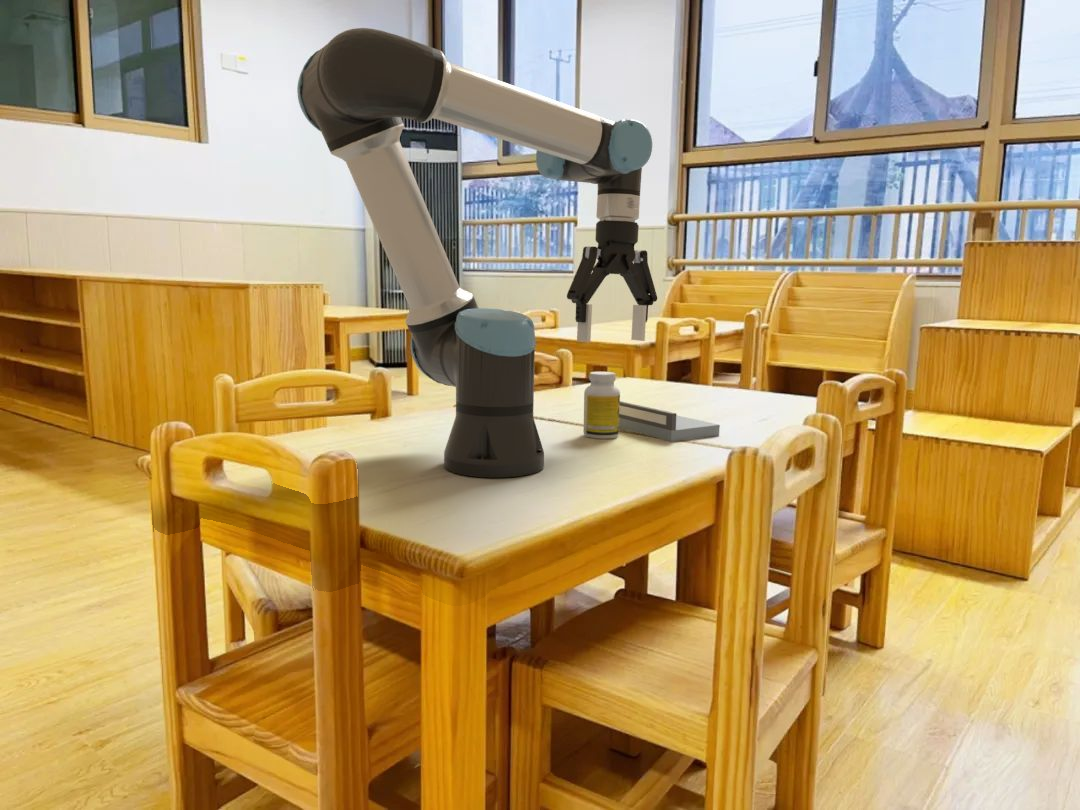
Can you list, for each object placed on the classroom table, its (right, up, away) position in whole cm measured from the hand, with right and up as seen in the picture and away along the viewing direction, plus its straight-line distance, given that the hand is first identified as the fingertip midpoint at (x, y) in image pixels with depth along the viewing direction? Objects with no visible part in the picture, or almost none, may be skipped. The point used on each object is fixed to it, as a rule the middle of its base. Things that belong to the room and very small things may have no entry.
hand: (611, 341), depth 146 cm
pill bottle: (-2, -17, +1) cm, 18 cm away
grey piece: (+11, -17, +7) cm, 21 cm away
